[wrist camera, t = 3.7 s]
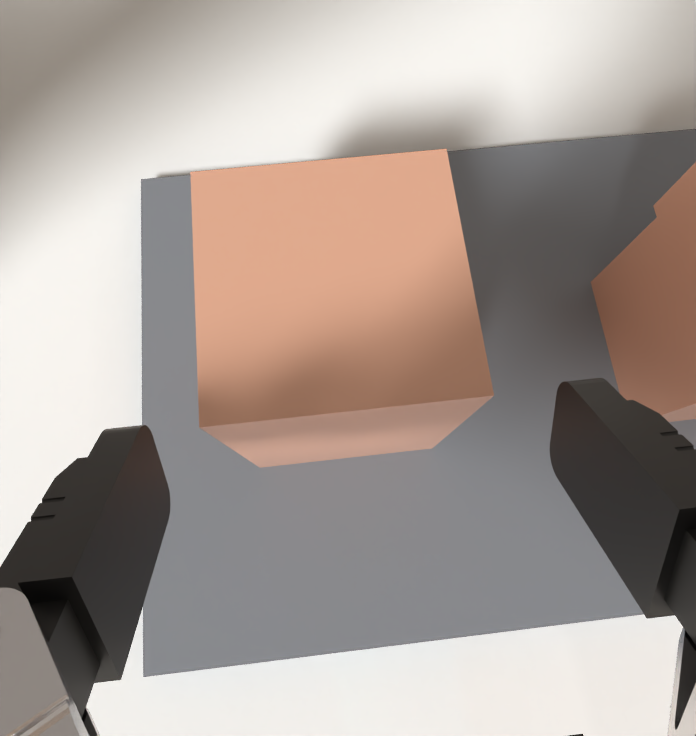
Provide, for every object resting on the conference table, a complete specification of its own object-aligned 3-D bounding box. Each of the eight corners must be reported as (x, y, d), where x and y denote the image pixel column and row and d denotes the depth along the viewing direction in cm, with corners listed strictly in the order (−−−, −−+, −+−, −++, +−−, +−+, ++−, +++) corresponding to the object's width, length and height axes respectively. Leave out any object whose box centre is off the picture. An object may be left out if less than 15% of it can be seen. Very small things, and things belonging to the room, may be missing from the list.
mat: (152, 669, 17) (143, 676, 17) (147, 191, 22) (141, 179, 22) (917, 574, 18) (942, 576, 18) (749, 136, 23) (763, 122, 23)
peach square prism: (259, 467, 18) (199, 427, 11) (249, 306, 20) (190, 171, 12) (432, 448, 19) (494, 395, 11) (407, 290, 20) (446, 148, 13)
